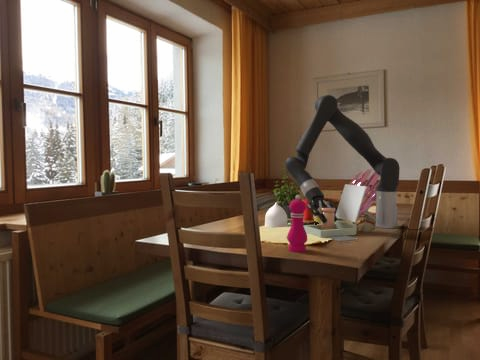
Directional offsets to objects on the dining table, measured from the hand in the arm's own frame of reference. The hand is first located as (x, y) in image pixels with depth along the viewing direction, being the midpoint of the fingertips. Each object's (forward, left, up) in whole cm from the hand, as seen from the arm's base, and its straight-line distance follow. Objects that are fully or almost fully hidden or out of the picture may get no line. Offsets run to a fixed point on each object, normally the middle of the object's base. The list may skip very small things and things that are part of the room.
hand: (330, 221), depth 182 cm
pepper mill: (+28, +19, -6) cm, 35 cm away
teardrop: (+10, -30, -6) cm, 32 cm away
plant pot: (-11, -22, -6) cm, 25 cm away
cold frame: (-2, -1, -6) cm, 6 cm away
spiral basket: (-54, -40, -6) cm, 67 cm away
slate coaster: (+2, +11, -6) cm, 13 cm away
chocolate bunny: (-20, 0, -6) cm, 21 cm away
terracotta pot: (0, -2, -4) cm, 5 cm away
